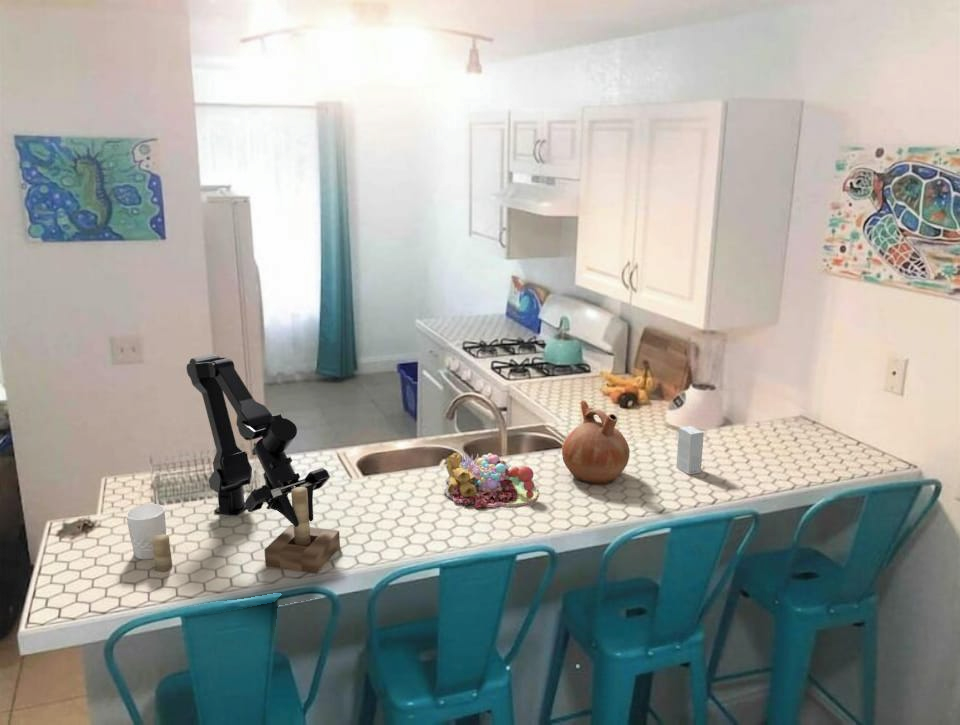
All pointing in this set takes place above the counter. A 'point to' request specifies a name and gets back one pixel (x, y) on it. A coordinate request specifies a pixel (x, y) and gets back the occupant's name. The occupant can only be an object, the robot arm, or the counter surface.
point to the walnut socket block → (302, 550)
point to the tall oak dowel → (301, 516)
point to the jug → (595, 448)
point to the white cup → (145, 528)
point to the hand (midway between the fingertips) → (304, 523)
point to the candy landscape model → (489, 482)
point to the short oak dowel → (162, 552)
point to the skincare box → (690, 450)
